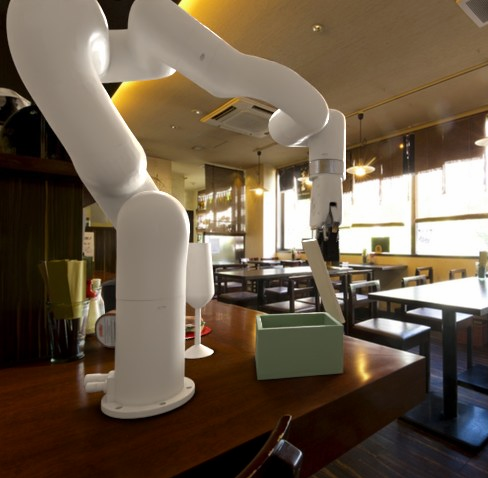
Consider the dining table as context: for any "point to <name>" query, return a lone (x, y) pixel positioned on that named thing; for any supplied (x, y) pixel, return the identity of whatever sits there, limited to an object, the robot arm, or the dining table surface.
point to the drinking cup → (109, 295)
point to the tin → (106, 329)
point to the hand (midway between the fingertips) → (326, 259)
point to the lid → (322, 279)
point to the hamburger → (191, 327)
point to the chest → (298, 345)
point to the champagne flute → (199, 290)
